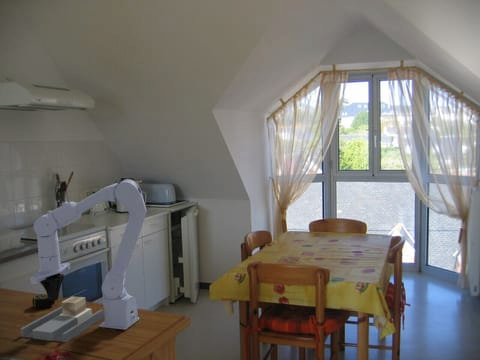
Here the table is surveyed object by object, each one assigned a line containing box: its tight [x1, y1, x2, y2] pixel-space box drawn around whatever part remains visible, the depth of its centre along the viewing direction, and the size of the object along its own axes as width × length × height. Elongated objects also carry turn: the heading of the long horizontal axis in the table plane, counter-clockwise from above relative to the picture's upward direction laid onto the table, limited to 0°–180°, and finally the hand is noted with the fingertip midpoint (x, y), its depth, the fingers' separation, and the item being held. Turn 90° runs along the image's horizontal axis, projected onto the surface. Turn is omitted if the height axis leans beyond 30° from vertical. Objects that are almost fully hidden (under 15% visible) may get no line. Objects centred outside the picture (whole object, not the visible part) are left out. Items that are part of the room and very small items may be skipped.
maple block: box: [61, 296, 87, 316], centre depth 149 cm, size 5×5×4 cm
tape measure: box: [31, 293, 56, 309], centre depth 163 cm, size 7×7×4 cm
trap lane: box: [19, 305, 105, 343], centre depth 144 cm, size 16×18×2 cm
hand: (53, 299), depth 141 cm, fingers closed
